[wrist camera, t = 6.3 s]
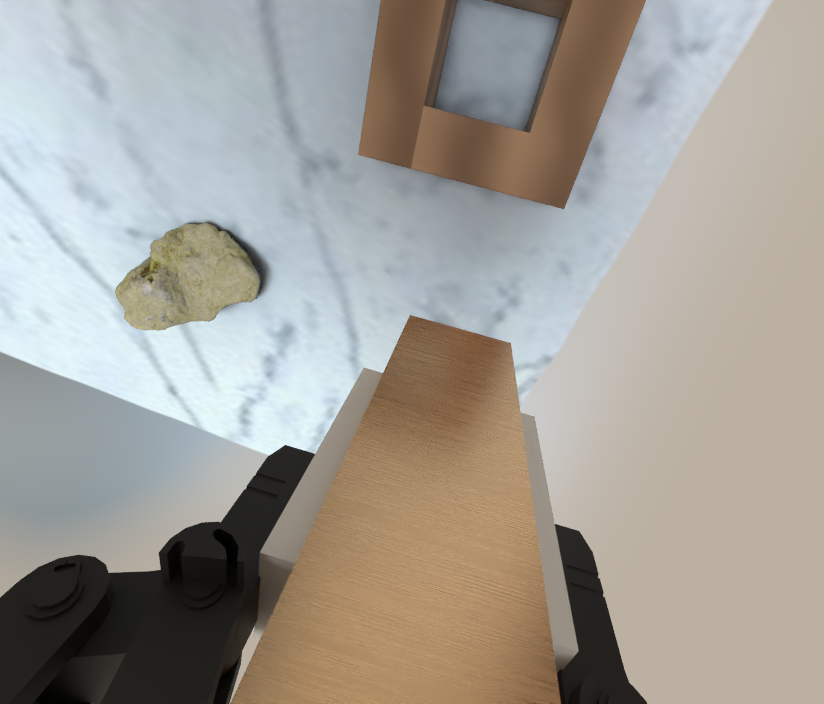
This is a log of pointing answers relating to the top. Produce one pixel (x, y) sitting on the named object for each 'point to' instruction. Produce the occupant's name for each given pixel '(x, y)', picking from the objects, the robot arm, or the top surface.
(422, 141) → the hole block
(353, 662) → the long pin
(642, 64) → the top surface
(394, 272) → the top surface
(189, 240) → the rock
